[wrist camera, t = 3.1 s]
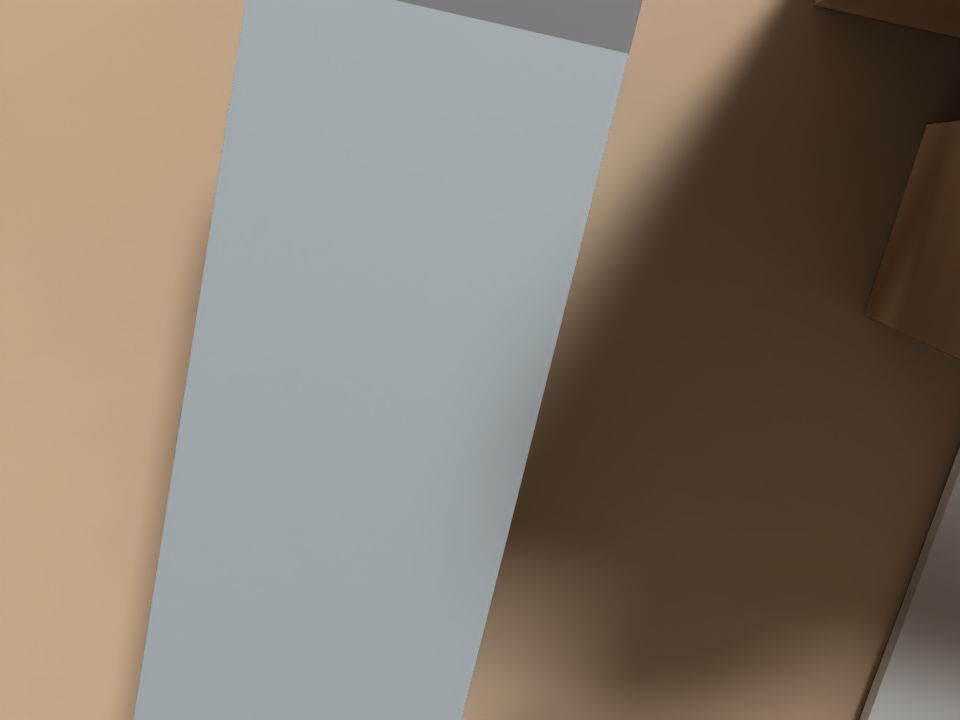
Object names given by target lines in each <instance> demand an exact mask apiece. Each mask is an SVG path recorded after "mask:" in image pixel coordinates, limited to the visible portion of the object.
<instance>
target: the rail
mask: <svg viewBox="0 0 960 720" xmlns="http://www.w3.org/2000/svg"><path fill="white" fill-rule="evenodd" d="M641 4H642V0H246V1H245V8H244V14H243V21H242V27H241V33H240V40H239V46H238V53H237V59H236V66H235V72H234V78H233V85H232V91H231V98H230V104H229V110H228V117H227V123H226V130H225V136H224V143H223V149H222V155H221V162H220V168H219V175H218V181H217V188H216V194H215V200H214V207H213V213H212V220H211V226H210V232H209V239H208V245H207V252H206V258H205V265H204V271H203V277H202V284H201V290H200V297H199V303H198V310H197V316H196V322H195V329H194V335H193V342H192V348H191V354H190V361H189V367H188V374H187V380H186V387H185V393H184V399H183V406H182V412H181V419H180V425H179V431H178V438H177V444H176V451H175V457H174V464H173V470H172V476H171V483H170V489H169V496H168V502H167V509H166V515H165V521H164V528H163V534H162V541H161V547H160V553H159V560H158V566H157V573H156V579H155V586H154V592H153V598H152V605H151V611H150V618H149V624H148V630H147V637H146V643H145V650H144V656H143V663H142V669H141V675H140V682H139V688H138V695H137V701H136V708H135V714H134V720H462V716H463V712H464V708H465V704H466V700H467V696H468V692H469V688H470V684H471V680H472V676H473V672H474V668H475V664H476V660H477V656H478V652H479V648H480V644H481V640H482V636H483V632H484V628H485V624H486V620H487V616H488V612H489V608H490V604H491V600H492V596H493V592H494V588H495V584H496V580H497V576H498V572H499V568H500V564H501V560H502V557H503V553H504V549H505V545H506V541H507V537H508V533H509V529H510V525H511V521H512V517H513V513H514V509H515V505H516V501H517V497H518V493H519V489H520V485H521V481H522V477H523V473H524V469H525V465H526V461H527V457H528V453H529V449H530V445H531V441H532V437H533V433H534V429H535V425H536V421H537V417H538V413H539V409H540V405H541V401H542V397H543V393H544V389H545V386H546V382H547V378H548V374H549V370H550V366H551V362H552V358H553V354H554V350H555V346H556V342H557V338H558V334H559V330H560V326H561V322H562V318H563V314H564V310H565V306H566V302H567V298H568V294H569V290H570V286H571V282H572V278H573V274H574V270H575V266H576V262H577V258H578V254H579V250H580V246H581V242H582V238H583V234H584V230H585V226H586V222H587V219H588V215H589V211H590V207H591V203H592V199H593V195H594V191H595V187H596V183H597V179H598V175H599V171H600V167H601V163H602V159H603V155H604V151H605V147H606V143H607V139H608V135H609V131H610V127H611V123H612V119H613V115H614V111H615V107H616V103H617V99H618V95H619V91H620V87H621V83H622V79H623V75H624V71H625V67H626V63H627V59H628V55H629V51H630V48H631V44H632V40H633V36H634V32H635V28H636V24H637V20H638V16H639V12H640V8H641Z"/></svg>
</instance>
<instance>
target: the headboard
mask: <svg viewBox="0 0 960 720" xmlns="http://www.w3.org/2000/svg"><path fill="white" fill-rule="evenodd" d="M814 5H816V6H820V7H825V8H829V9H834V10H838V11H842V12H847V13H851V14H856V15H860V16H865V17H869V18H873V19H878V20H882V21H887V22H891V23H895V24H900V25H904V26H909V27H913V28H918V29H922V30H926V31H931V32H935V33H940V34H944V35H948V36H953V37H957V38H960V0H815V3H814ZM864 315H866V316H868V317H870V318H873V319H875V320H877V321H879V322H881V323H883V324H885V325H888V326H890V327H892V328H894V329H896V330H898V331H900V332H902V333H905V334H907V335H909V336H911V337H913V338H915V339H917V340H920V341H922V342H924V343H926V344H928V345H930V346H932V347H935V348H937V349H939V350H941V351H943V352H945V353H947V354H950V355H952V356H954V357H956V358H958V359H960V121H954V122H945V123H936V124H927V125H926V128H925V131H924V135H923V138H922V141H921V144H920V147H919V150H918V153H917V156H916V159H915V162H914V165H913V168H912V171H911V174H910V177H909V180H908V183H907V186H906V189H905V192H904V195H903V198H902V201H901V204H900V207H899V210H898V213H897V216H896V219H895V222H894V226H893V229H892V232H891V235H890V238H889V241H888V244H887V247H886V250H885V253H884V256H883V259H882V262H881V265H880V268H879V271H878V274H877V277H876V280H875V283H874V286H873V289H872V292H871V295H870V298H869V301H868V304H867V307H866V310H865V314H864ZM860 720H960V447H959V450H958V453H957V456H956V458H955V461H954V464H953V466H952V469H951V472H950V475H949V477H948V480H947V483H946V486H945V488H944V491H943V494H942V496H941V499H940V502H939V505H938V507H937V510H936V513H935V516H934V518H933V521H932V524H931V526H930V529H929V532H928V535H927V537H926V540H925V543H924V545H923V548H922V551H921V554H920V556H919V559H918V562H917V565H916V567H915V570H914V573H913V575H912V578H911V581H910V584H909V586H908V589H907V592H906V594H905V597H904V600H903V603H902V605H901V608H900V611H899V614H898V616H897V619H896V622H895V624H894V627H893V630H892V633H891V635H890V638H889V641H888V644H887V646H886V649H885V652H884V654H883V657H882V660H881V663H880V665H879V668H878V671H877V673H876V676H875V679H874V682H873V684H872V687H871V690H870V693H869V695H868V698H867V701H866V703H865V706H864V709H863V712H862V714H861V717H860Z"/></svg>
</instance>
